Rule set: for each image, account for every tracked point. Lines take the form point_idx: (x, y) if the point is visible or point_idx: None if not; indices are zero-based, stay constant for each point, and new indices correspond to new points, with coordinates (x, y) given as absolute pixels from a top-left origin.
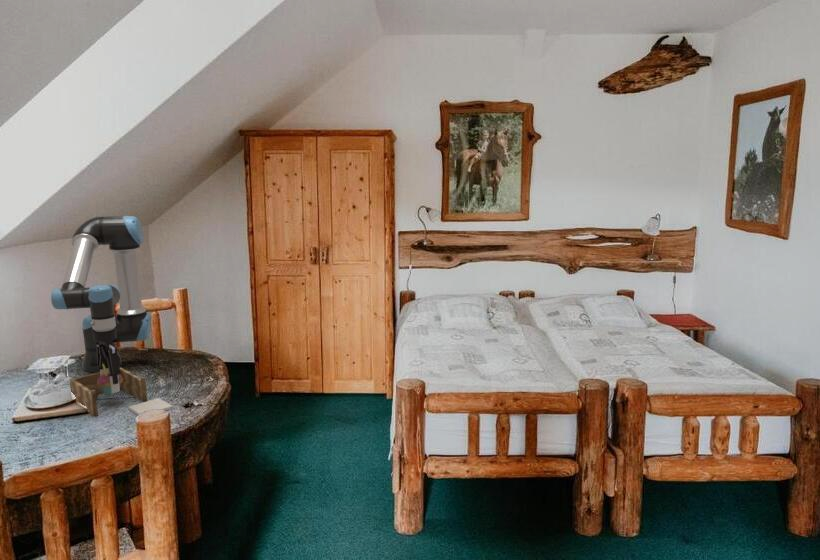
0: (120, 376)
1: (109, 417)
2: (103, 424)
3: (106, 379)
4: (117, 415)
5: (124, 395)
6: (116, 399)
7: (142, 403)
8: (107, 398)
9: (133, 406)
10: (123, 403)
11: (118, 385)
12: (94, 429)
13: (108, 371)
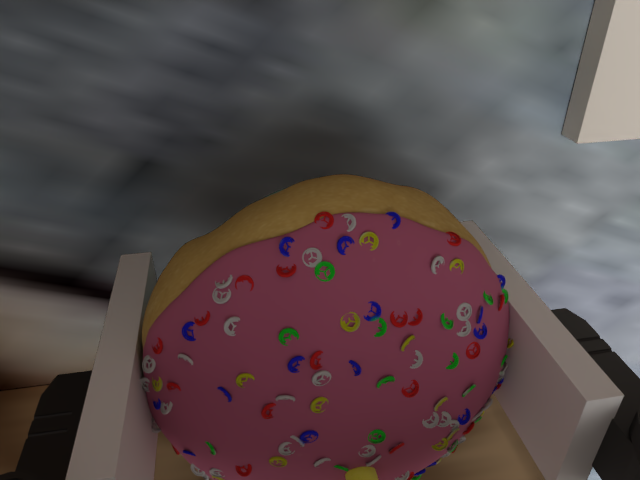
0: (447, 269)
1: (563, 282)
2: (625, 329)
3: (446, 451)
4: (584, 234)
5: (145, 26)
6: (220, 138)
7: (636, 6)
8: (123, 196)
9: (614, 107)
10: (386, 121)
11: (508, 273)
12: (636, 372)
13: (126, 423)
